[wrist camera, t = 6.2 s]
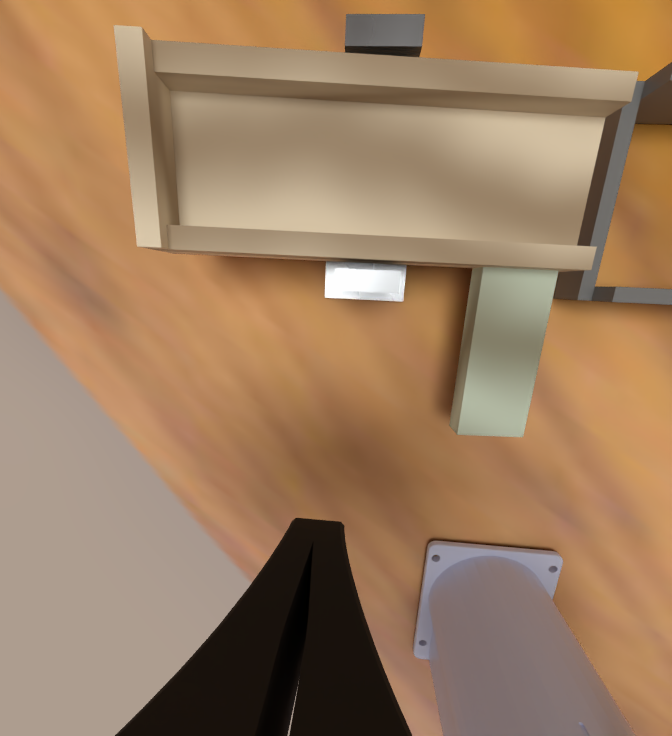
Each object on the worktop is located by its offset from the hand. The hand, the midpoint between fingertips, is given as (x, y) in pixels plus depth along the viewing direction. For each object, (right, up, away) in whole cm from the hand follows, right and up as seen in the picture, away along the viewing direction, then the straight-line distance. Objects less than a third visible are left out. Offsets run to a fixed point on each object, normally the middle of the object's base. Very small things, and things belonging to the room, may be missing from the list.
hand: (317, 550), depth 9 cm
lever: (+2, +9, +5) cm, 10 cm away
